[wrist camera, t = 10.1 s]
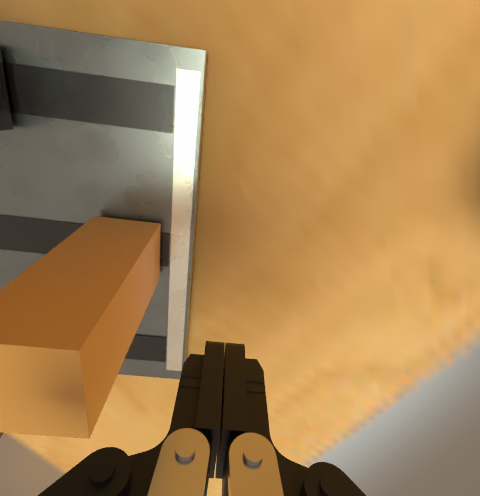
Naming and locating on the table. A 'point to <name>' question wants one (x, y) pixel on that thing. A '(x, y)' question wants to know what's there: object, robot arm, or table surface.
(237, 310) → the table surface
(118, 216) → the panel
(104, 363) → the handle
